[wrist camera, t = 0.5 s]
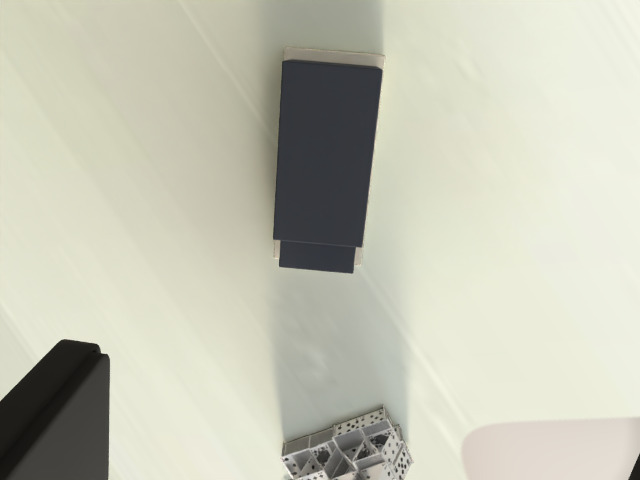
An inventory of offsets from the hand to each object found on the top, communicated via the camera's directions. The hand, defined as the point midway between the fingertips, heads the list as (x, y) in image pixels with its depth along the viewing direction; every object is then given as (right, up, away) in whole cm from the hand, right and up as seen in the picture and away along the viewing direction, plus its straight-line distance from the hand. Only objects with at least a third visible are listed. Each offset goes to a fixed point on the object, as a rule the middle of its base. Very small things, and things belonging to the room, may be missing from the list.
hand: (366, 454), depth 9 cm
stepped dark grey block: (0, +8, +18) cm, 19 cm away
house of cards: (+1, -11, +25) cm, 27 cm away
